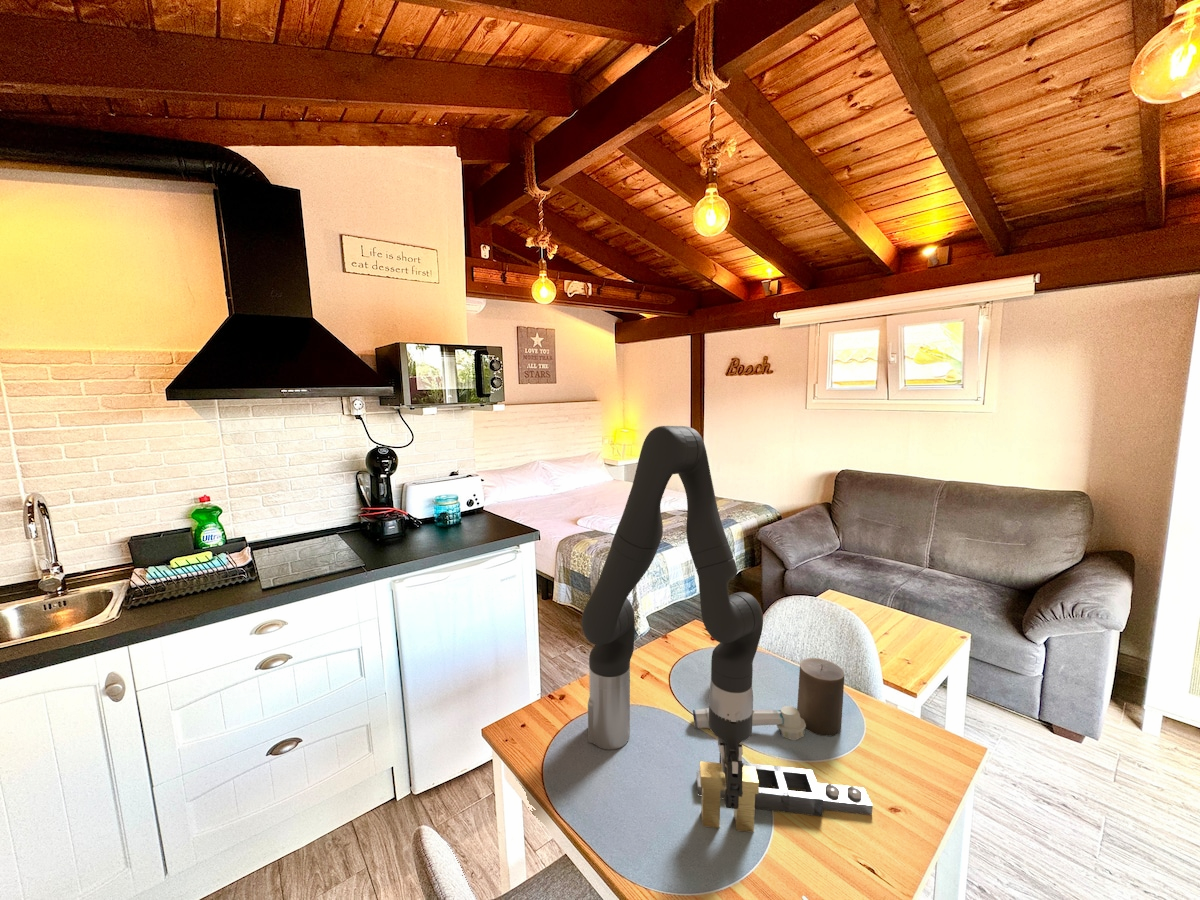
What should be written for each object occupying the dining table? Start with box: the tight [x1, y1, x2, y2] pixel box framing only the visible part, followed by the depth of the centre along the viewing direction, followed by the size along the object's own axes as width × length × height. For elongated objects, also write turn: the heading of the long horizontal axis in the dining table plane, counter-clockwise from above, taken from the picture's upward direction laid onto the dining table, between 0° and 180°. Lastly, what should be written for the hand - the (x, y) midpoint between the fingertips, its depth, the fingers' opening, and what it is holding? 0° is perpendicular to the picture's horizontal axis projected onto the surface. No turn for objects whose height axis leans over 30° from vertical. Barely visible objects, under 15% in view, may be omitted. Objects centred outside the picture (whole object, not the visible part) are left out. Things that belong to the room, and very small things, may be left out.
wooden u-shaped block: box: [698, 760, 760, 833], centre depth 86 cm, size 10×4×10 cm, turn 82°
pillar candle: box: [796, 657, 845, 737], centre depth 112 cm, size 10×10×15 cm
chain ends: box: [696, 762, 874, 817], centre depth 92 cm, size 32×7×4 cm, turn 82°
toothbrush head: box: [692, 705, 806, 741], centre depth 110 cm, size 5×7×25 cm
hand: (728, 786), depth 86 cm, fingers open, 8 cm apart
